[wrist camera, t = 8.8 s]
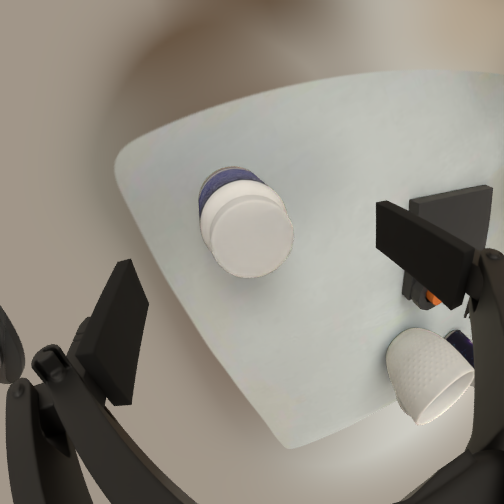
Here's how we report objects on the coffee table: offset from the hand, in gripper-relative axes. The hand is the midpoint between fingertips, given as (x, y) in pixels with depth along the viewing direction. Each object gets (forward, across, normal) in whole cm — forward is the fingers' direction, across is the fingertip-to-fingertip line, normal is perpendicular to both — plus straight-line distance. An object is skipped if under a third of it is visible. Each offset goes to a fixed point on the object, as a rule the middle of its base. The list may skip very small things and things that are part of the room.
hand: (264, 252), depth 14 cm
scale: (+12, +28, -10) cm, 32 cm away
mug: (+12, +21, -29) cm, 38 cm away
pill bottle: (+12, 0, 0) cm, 12 cm away
